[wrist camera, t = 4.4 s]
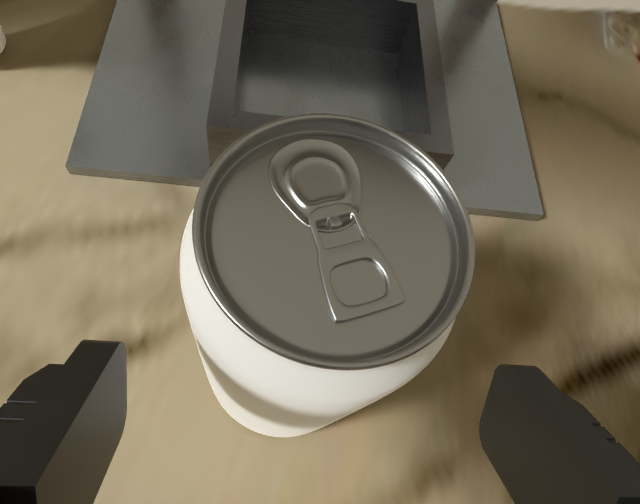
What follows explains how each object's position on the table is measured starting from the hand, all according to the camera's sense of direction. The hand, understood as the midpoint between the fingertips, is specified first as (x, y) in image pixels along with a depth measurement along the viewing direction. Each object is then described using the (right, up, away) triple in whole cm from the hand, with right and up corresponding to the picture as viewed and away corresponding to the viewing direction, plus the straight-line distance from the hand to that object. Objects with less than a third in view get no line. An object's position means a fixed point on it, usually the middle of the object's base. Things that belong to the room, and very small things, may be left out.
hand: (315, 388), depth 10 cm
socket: (0, +15, +18) cm, 23 cm away
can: (-1, -2, +10) cm, 10 cm away
